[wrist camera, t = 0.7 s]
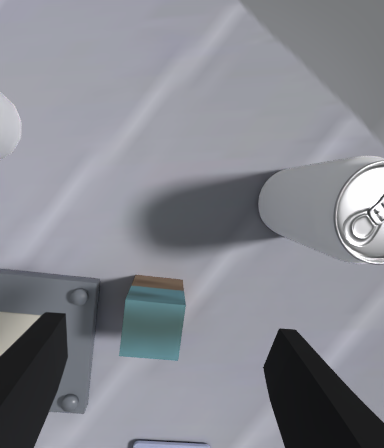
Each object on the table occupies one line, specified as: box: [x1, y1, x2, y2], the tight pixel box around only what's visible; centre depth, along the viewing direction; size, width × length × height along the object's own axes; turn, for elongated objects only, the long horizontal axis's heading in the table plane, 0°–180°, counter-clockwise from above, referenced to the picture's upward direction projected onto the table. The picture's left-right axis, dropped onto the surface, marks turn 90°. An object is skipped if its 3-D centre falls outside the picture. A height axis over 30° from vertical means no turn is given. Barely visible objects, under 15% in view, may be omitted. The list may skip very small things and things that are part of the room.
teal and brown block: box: [119, 275, 186, 361], centre depth 24 cm, size 4×4×6 cm
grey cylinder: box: [258, 156, 384, 265], centre depth 21 cm, size 6×6×12 cm
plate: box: [0, 269, 100, 414], centre depth 25 cm, size 13×13×2 cm
